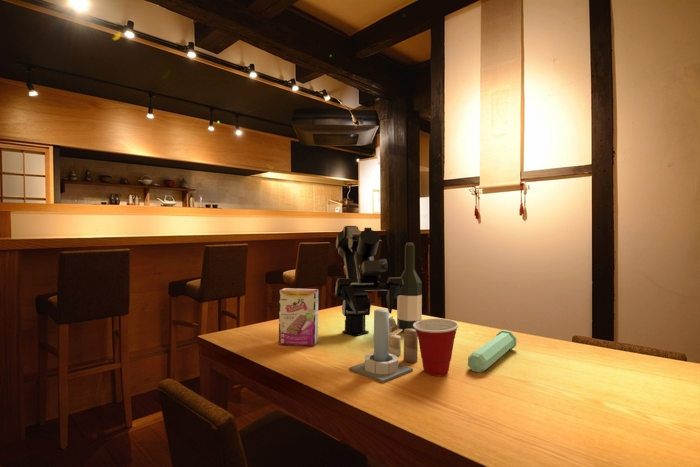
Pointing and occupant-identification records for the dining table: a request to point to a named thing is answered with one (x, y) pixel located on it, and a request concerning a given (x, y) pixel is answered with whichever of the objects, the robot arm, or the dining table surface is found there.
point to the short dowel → (395, 345)
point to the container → (492, 351)
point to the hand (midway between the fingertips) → (373, 313)
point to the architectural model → (393, 327)
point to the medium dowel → (410, 345)
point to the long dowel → (381, 335)
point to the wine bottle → (409, 293)
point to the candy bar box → (298, 316)
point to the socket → (381, 368)
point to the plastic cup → (436, 344)
